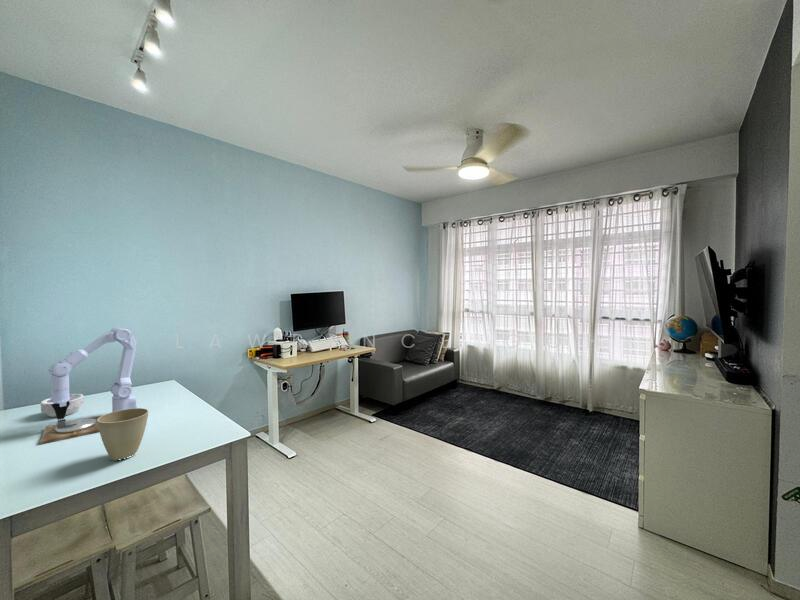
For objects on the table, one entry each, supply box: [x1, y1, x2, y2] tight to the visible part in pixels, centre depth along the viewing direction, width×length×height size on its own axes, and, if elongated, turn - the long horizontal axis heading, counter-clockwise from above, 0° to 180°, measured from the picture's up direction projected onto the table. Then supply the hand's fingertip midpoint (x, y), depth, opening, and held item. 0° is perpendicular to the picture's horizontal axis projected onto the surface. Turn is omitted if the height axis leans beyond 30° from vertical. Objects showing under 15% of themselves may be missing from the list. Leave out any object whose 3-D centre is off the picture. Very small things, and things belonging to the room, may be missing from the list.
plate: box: [39, 415, 102, 446], centre depth 146 cm, size 20×20×1 cm
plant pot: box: [97, 407, 149, 461], centre depth 124 cm, size 15×15×16 cm
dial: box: [55, 418, 96, 433], centre depth 146 cm, size 13×13×4 cm
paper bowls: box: [40, 393, 85, 418], centre depth 165 cm, size 15×15×8 cm
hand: (60, 418), depth 146 cm, fingers closed
